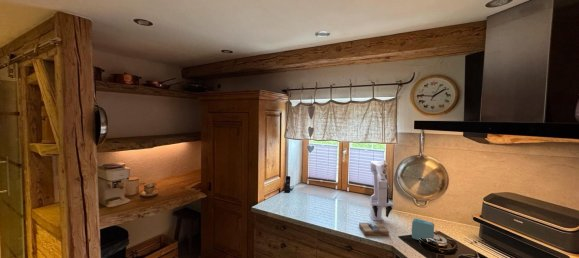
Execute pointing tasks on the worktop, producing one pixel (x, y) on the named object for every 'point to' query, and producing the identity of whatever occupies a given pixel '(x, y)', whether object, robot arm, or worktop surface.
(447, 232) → the worktop surface
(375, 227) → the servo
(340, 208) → the worktop surface
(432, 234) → the data package
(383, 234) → the board
